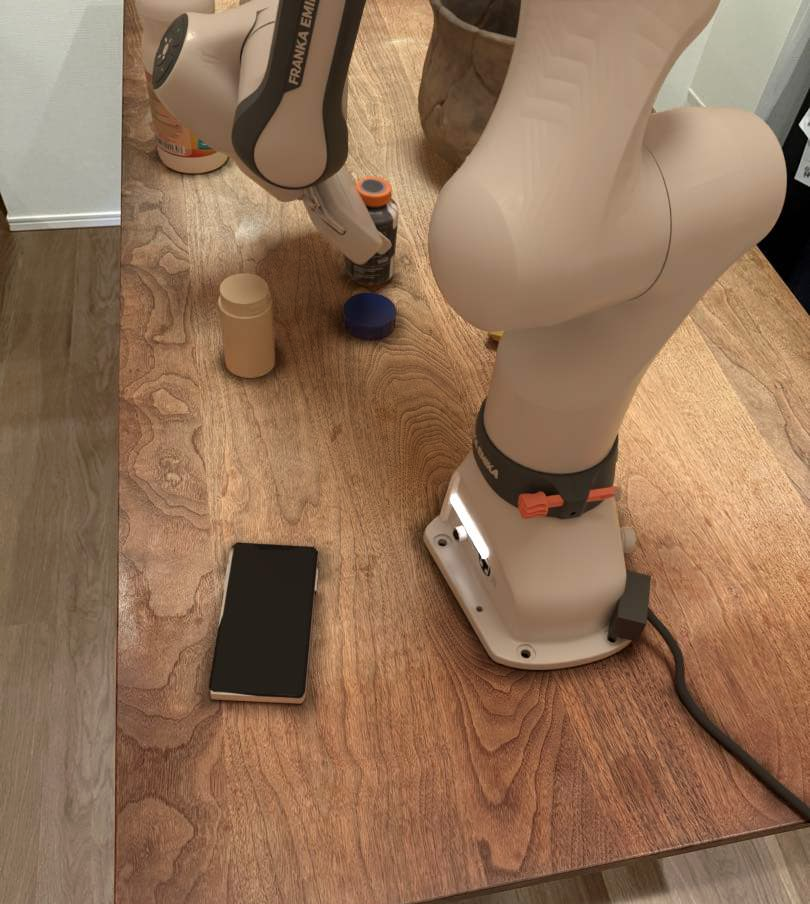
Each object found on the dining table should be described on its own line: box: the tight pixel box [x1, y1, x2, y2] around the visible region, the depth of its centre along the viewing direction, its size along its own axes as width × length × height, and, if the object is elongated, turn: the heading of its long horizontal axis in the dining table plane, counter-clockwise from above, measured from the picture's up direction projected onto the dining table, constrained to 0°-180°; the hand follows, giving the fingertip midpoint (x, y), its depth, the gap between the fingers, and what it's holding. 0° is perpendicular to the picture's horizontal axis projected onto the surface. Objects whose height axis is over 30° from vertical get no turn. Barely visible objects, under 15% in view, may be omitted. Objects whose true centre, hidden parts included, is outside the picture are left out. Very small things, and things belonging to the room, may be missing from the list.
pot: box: [417, 0, 521, 170], centre depth 114 cm, size 25×24×21 cm
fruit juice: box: [134, 0, 229, 174], centre depth 106 cm, size 9×9×28 cm
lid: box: [341, 291, 397, 341], centre depth 99 cm, size 6×6×2 cm
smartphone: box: [208, 541, 319, 704], centre depth 75 cm, size 8×1×15 cm
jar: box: [217, 272, 276, 379], centre depth 91 cm, size 5×5×10 cm
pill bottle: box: [344, 176, 399, 286], centre depth 100 cm, size 6×6×11 cm
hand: (376, 227), depth 100 cm, fingers closed on pill bottle, 6 cm apart
